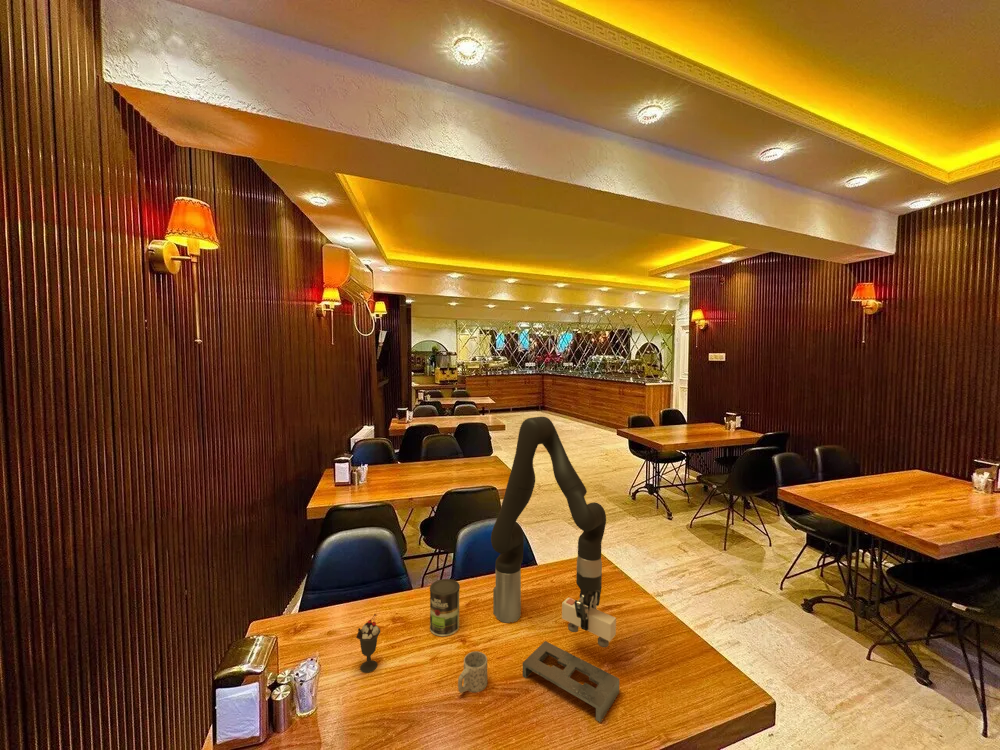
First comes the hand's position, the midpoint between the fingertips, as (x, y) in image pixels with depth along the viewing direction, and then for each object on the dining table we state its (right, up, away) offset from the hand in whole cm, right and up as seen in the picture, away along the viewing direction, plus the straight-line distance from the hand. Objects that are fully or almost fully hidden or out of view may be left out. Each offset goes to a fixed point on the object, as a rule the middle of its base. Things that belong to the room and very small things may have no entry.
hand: (587, 625), depth 119 cm
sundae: (-66, -11, -3) cm, 67 cm away
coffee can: (-46, -11, +16) cm, 50 cm away
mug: (-35, -11, -10) cm, 38 cm away
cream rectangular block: (0, -3, 0) cm, 3 cm away
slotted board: (-7, -11, -10) cm, 16 cm away
